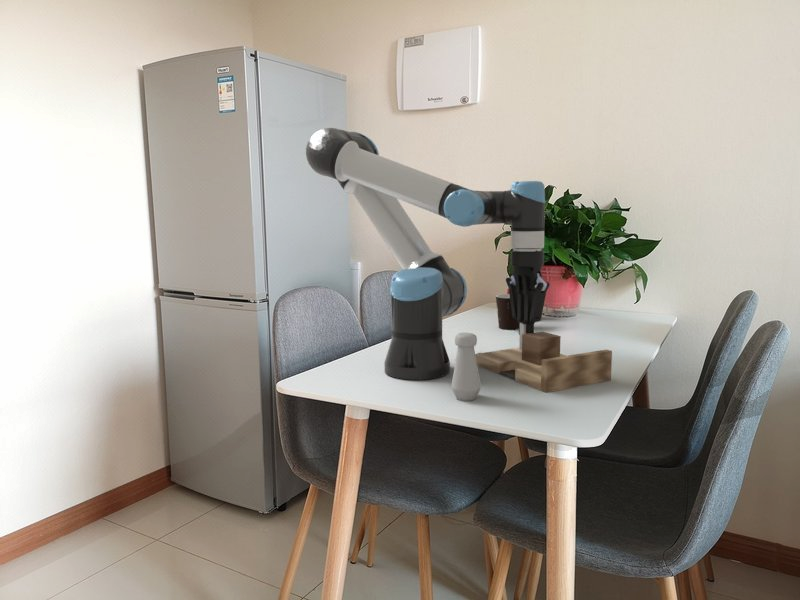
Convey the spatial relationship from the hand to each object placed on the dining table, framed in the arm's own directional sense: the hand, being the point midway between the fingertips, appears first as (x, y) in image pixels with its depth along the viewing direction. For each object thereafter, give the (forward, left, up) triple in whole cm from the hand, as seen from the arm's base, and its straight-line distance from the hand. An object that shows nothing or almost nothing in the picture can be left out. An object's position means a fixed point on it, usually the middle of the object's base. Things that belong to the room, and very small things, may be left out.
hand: (525, 350), depth 143 cm
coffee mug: (+24, +39, -4) cm, 46 cm away
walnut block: (0, -5, -2) cm, 5 cm away
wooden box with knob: (0, -5, -4) cm, 6 cm away
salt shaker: (-25, -13, -4) cm, 29 cm away
